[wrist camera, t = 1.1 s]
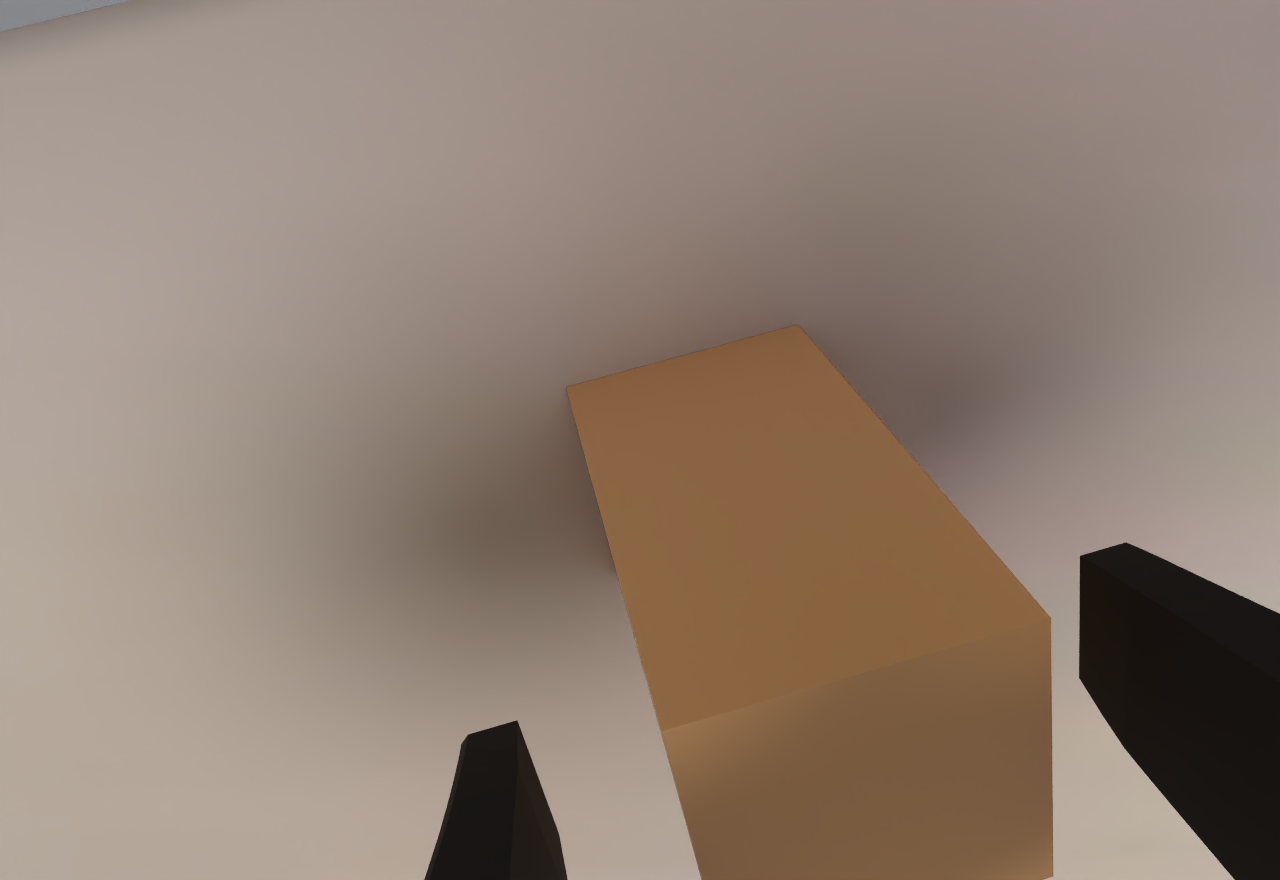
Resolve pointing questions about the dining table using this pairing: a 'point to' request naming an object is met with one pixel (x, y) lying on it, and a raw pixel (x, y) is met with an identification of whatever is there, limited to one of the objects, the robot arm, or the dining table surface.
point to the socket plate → (43, 10)
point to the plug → (818, 627)
